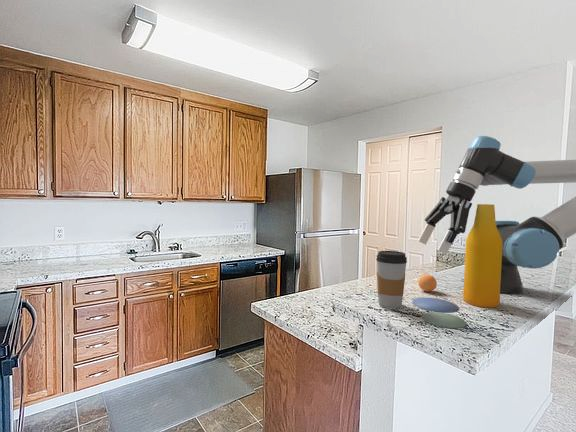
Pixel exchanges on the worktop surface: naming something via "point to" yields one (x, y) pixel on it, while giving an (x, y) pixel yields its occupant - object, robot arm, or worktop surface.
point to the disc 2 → (443, 320)
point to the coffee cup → (390, 278)
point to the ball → (427, 283)
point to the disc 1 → (435, 304)
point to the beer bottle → (483, 260)
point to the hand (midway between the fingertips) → (431, 247)
